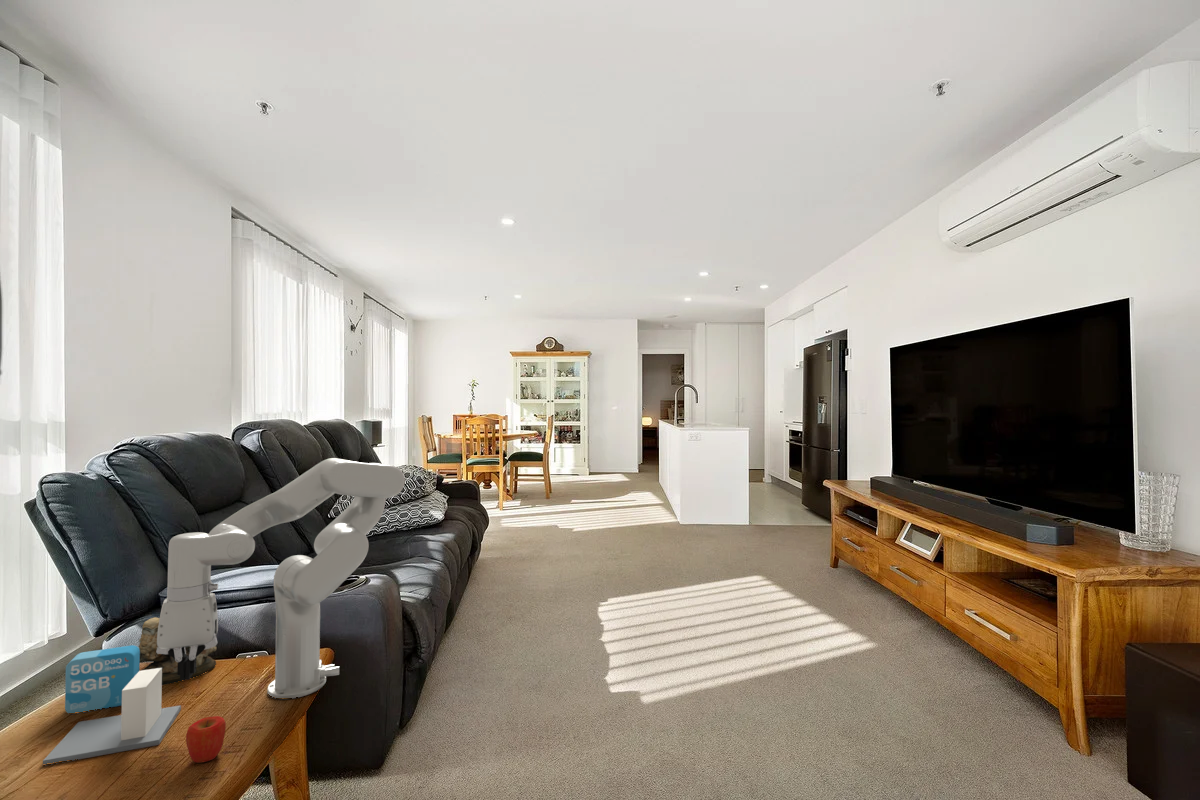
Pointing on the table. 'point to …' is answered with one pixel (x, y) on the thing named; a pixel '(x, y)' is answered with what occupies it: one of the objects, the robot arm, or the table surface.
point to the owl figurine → (165, 660)
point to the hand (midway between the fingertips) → (186, 677)
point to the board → (108, 737)
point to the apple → (205, 738)
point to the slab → (141, 703)
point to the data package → (99, 678)
